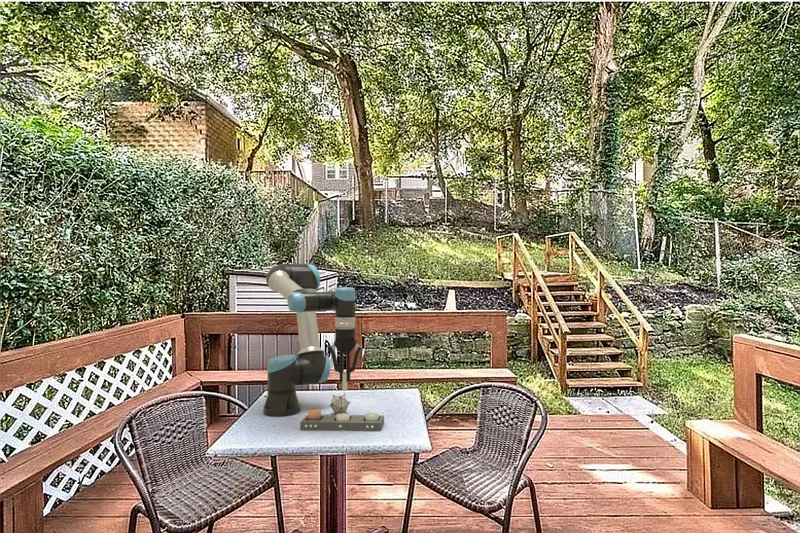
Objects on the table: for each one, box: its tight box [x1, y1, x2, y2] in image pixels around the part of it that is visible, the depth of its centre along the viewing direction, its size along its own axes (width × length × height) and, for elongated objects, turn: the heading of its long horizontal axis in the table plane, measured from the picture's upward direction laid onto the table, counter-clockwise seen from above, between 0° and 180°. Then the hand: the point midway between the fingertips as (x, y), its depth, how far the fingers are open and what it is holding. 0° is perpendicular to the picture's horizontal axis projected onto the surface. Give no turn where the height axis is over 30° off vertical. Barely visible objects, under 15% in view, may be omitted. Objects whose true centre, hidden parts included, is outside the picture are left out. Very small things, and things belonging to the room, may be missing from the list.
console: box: [299, 414, 385, 432], centre depth 209 cm, size 30×12×3 cm, turn 85°
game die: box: [328, 393, 352, 415], centre depth 229 cm, size 9×8×10 cm
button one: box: [335, 412, 351, 421], centre depth 209 cm, size 5×5×4 cm
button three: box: [307, 408, 322, 420], centre depth 210 cm, size 5×5×4 cm
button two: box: [365, 412, 379, 421], centre depth 208 cm, size 5×5×4 cm
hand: (344, 390), depth 210 cm, fingers closed
